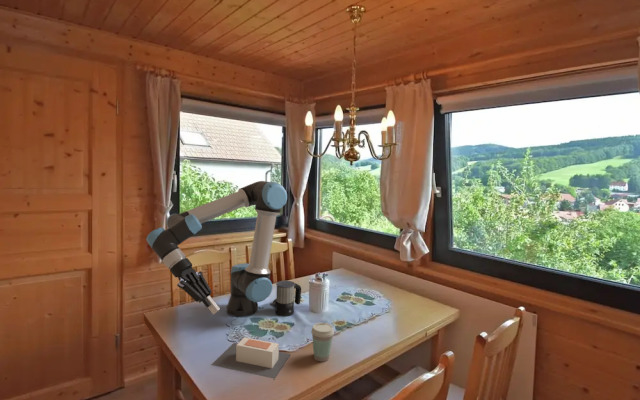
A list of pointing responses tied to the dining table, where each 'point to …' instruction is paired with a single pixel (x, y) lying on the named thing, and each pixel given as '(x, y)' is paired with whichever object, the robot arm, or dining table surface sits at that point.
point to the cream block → (257, 352)
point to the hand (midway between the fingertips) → (216, 311)
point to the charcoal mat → (230, 362)
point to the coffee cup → (322, 341)
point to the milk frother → (286, 297)
